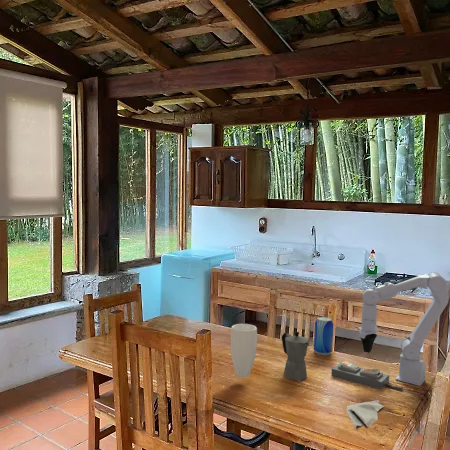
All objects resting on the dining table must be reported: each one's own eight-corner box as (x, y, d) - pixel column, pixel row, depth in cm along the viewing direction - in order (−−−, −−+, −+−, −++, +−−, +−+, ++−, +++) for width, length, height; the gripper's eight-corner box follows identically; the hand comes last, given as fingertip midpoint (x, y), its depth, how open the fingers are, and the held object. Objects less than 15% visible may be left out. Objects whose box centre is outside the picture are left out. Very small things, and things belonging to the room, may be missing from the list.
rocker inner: (380, 371, 181) (379, 368, 181) (376, 374, 178) (376, 371, 178) (366, 371, 184) (365, 368, 184) (362, 373, 181) (362, 370, 181)
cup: (260, 381, 178) (262, 326, 177) (246, 390, 170) (248, 332, 169) (238, 375, 184) (239, 321, 183) (223, 383, 176) (225, 327, 174)
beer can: (327, 357, 208) (328, 322, 207) (310, 353, 213) (311, 318, 212) (335, 352, 215) (336, 318, 214) (318, 348, 220) (320, 315, 219)
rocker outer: (357, 368, 186) (358, 366, 186) (354, 371, 184) (354, 368, 183) (344, 362, 190) (345, 360, 189) (341, 365, 187) (341, 362, 187)
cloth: (365, 397, 169) (365, 391, 169) (402, 410, 159) (402, 404, 159) (325, 419, 151) (325, 412, 151) (364, 436, 141) (364, 428, 141)
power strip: (405, 387, 178) (406, 377, 177) (398, 394, 171) (399, 384, 170) (340, 369, 194) (341, 360, 193) (331, 375, 187) (331, 366, 186)
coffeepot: (315, 379, 183) (317, 334, 181) (297, 384, 177) (299, 337, 176) (289, 366, 195) (291, 324, 194) (272, 370, 190) (273, 327, 189)
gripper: (366, 313, 196) (364, 345, 197) (352, 320, 185) (350, 353, 186) (382, 316, 192) (380, 348, 193) (370, 323, 181) (368, 358, 181)
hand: (367, 351), depth 189 cm, fingers closed
